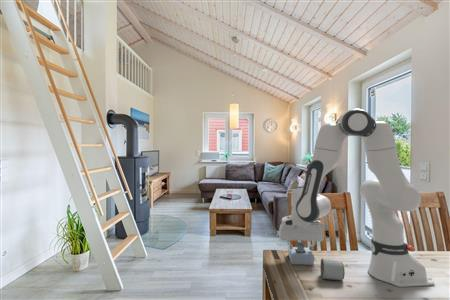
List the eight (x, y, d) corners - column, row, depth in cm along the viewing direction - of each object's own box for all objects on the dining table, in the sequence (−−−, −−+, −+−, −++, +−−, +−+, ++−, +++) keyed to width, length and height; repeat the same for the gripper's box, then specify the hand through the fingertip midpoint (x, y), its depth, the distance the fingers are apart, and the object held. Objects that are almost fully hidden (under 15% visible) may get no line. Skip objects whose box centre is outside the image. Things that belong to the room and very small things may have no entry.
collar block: (309, 255, 128) (309, 247, 128) (313, 264, 118) (313, 255, 118) (288, 254, 129) (288, 246, 129) (291, 263, 119) (291, 255, 119)
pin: (303, 258, 125) (303, 241, 125) (304, 261, 122) (304, 244, 122) (296, 258, 125) (296, 241, 125) (297, 261, 122) (298, 244, 122)
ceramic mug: (345, 284, 101) (345, 264, 101) (323, 282, 103) (323, 262, 103) (338, 272, 112) (338, 253, 112) (318, 270, 113) (318, 252, 113)
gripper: (321, 219, 126) (321, 247, 126) (278, 217, 128) (278, 246, 128) (325, 222, 119) (325, 252, 119) (279, 221, 122) (279, 251, 122)
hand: (300, 249), depth 124 cm, fingers open, 8 cm apart
